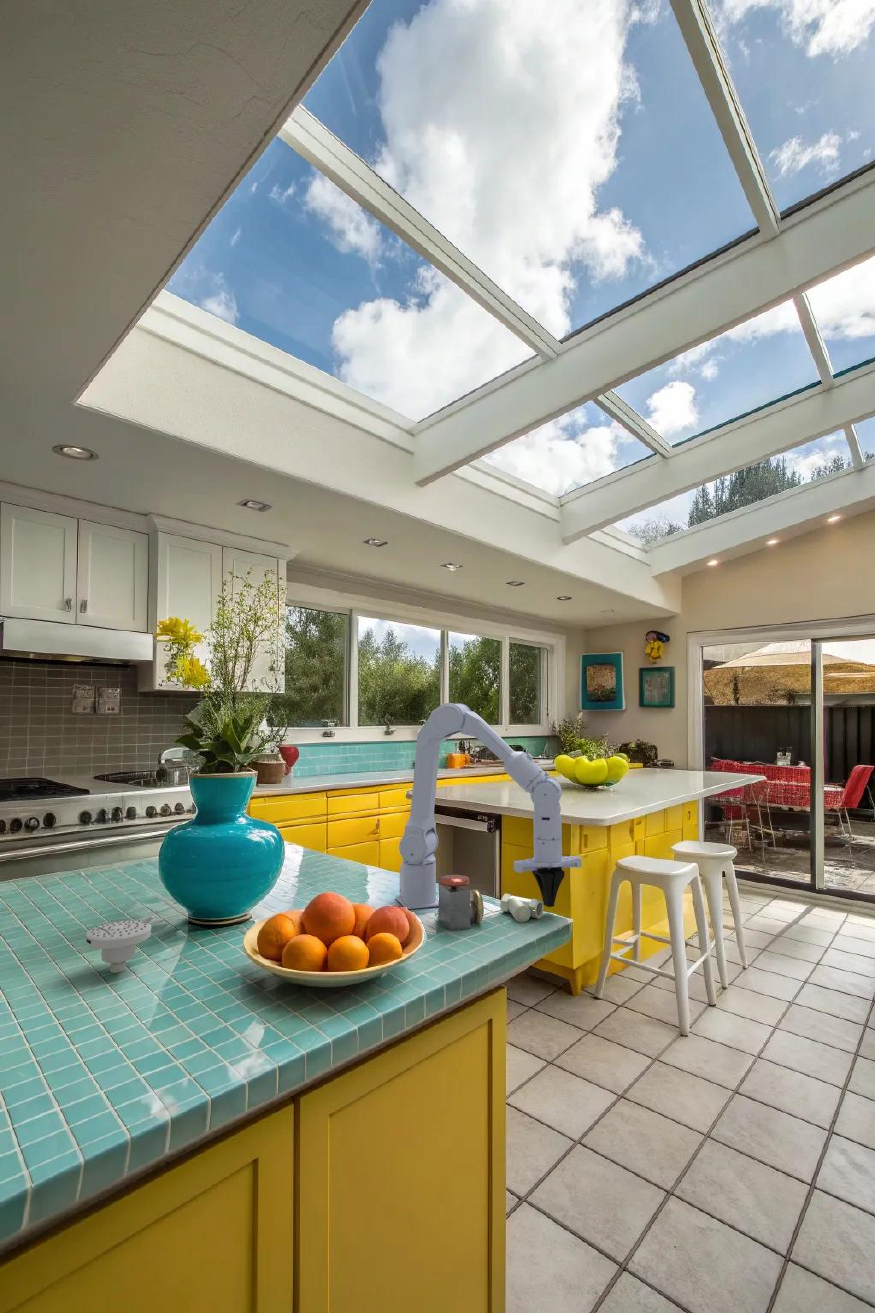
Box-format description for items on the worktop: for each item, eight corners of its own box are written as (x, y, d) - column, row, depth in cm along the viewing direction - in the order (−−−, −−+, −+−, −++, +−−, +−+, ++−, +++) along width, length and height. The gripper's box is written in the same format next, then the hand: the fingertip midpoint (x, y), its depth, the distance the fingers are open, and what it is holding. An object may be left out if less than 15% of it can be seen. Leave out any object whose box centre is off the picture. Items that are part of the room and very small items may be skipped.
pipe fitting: (527, 928, 127) (544, 916, 133) (526, 907, 128) (543, 897, 133) (492, 920, 132) (509, 909, 138) (491, 900, 132) (508, 891, 138)
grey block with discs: (433, 920, 130) (433, 875, 131) (471, 916, 133) (471, 872, 134) (445, 931, 124) (445, 884, 125) (484, 926, 126) (484, 880, 127)
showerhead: (165, 922, 107) (100, 937, 100) (163, 968, 106) (98, 987, 99) (140, 910, 113) (77, 924, 106) (138, 954, 113) (75, 971, 105)
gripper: (523, 843, 130) (525, 914, 129) (588, 839, 134) (590, 907, 133) (509, 837, 136) (510, 904, 135) (571, 833, 141) (572, 898, 140)
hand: (548, 905), depth 135 cm, fingers closed
